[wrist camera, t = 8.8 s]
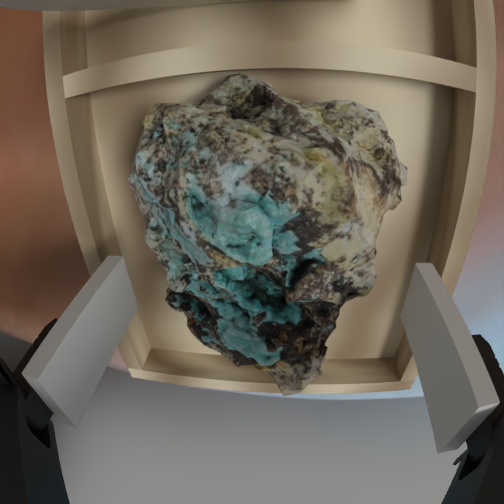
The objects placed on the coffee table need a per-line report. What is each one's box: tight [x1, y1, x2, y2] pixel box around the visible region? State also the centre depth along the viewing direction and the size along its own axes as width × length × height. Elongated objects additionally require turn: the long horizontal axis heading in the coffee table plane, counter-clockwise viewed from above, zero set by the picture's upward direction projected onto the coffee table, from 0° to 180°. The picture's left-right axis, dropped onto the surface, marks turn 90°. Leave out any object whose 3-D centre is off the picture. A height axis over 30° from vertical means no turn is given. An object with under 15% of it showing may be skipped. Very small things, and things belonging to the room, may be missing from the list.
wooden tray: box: [43, 0, 496, 394], centre depth 13 cm, size 18×24×3 cm
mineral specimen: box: [126, 74, 408, 396], centre depth 12 cm, size 12×9×8 cm
